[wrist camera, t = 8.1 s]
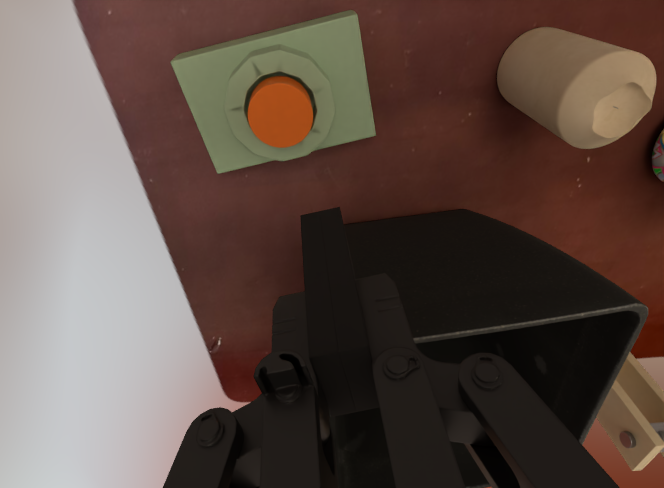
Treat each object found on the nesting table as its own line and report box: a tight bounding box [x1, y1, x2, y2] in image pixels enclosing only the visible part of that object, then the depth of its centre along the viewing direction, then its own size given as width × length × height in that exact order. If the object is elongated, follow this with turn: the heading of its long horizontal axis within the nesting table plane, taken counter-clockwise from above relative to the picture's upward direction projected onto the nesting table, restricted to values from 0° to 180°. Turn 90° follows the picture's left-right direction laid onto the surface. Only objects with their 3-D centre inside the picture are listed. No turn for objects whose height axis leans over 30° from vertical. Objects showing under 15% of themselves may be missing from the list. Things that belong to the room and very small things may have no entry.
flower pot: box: [329, 209, 648, 488], centre depth 34 cm, size 19×19×17 cm
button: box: [248, 76, 313, 148], centre depth 26 cm, size 4×4×2 cm
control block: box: [171, 10, 376, 174], centre depth 28 cm, size 12×8×4 cm, turn 102°
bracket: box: [596, 353, 664, 471], centre depth 43 cm, size 11×9×15 cm
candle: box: [497, 27, 656, 149], centre depth 26 cm, size 6×6×10 cm
